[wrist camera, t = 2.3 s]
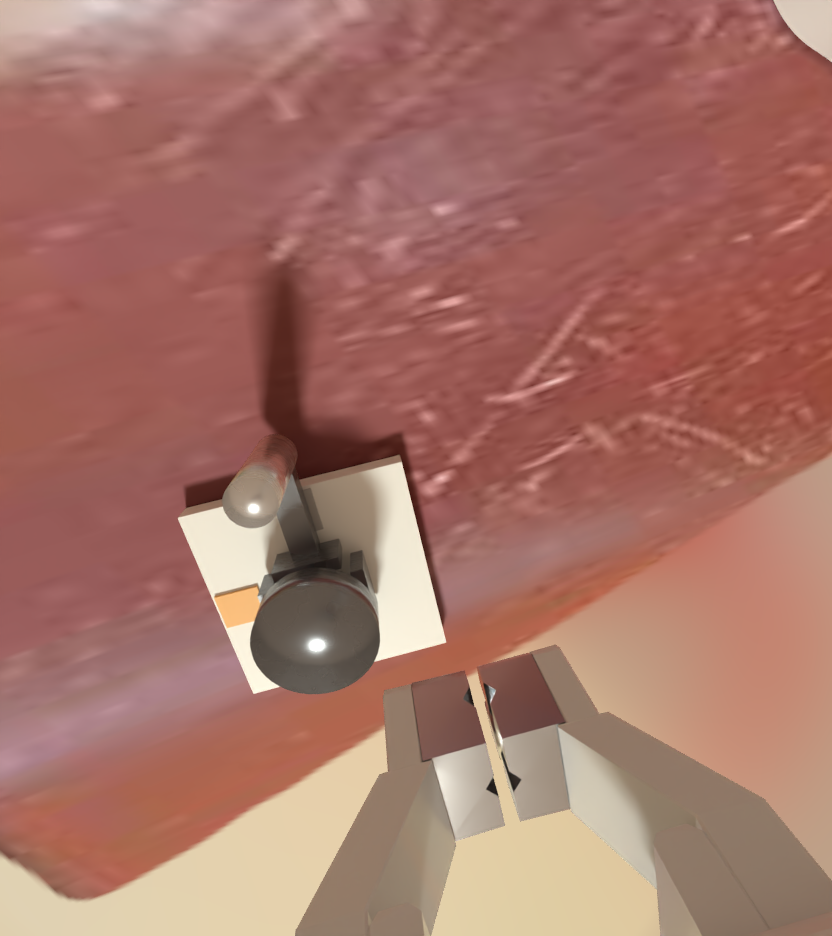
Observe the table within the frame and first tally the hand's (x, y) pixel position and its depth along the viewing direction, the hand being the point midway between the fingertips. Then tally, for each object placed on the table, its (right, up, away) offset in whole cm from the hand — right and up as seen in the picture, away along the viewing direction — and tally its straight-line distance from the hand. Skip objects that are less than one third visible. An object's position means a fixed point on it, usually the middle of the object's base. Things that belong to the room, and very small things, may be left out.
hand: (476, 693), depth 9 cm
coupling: (-8, 0, +22) cm, 23 cm away
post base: (-7, -3, +25) cm, 26 cm away
